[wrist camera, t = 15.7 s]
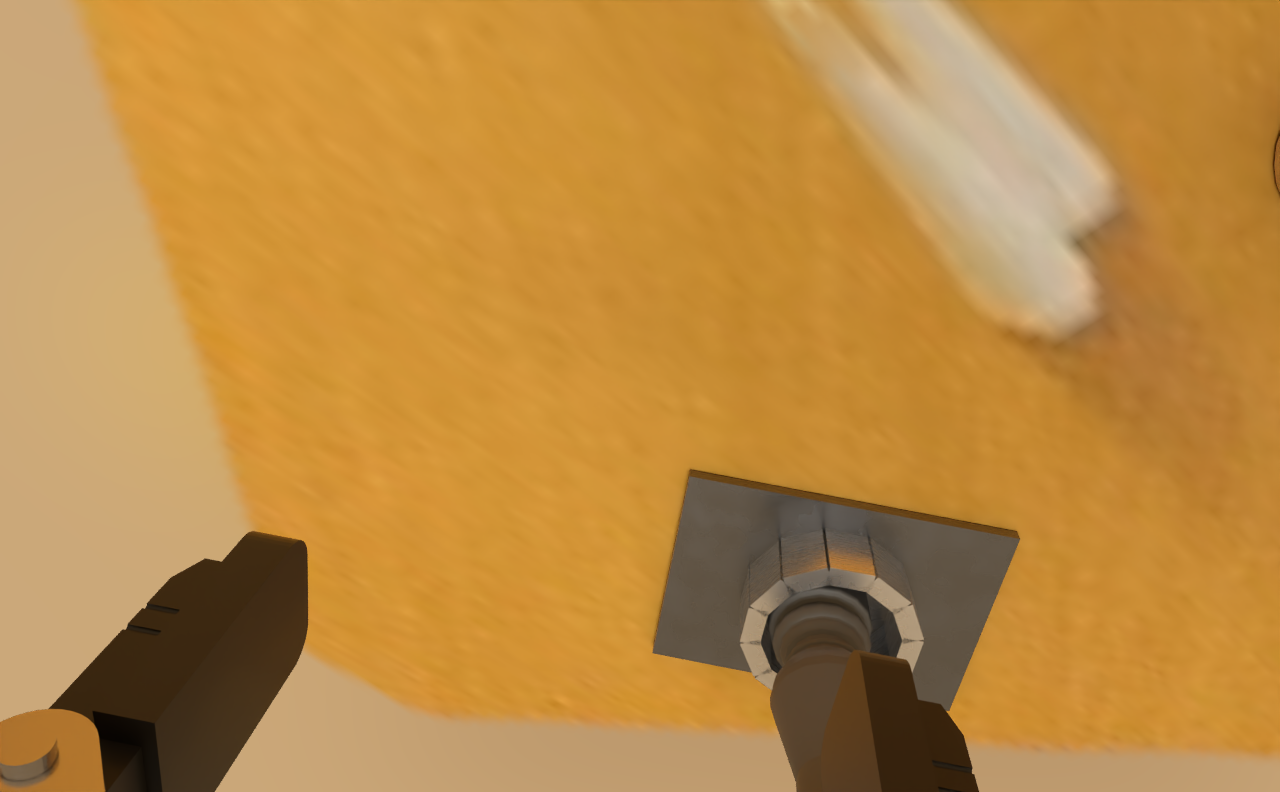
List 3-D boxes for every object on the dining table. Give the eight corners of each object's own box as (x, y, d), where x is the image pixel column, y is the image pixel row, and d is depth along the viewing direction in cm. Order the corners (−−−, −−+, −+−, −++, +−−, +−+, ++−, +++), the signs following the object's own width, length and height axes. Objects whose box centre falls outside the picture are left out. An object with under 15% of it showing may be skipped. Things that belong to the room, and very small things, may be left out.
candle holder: (817, 648, 60) (857, 1065, 37) (746, 594, 58) (745, 992, 36) (887, 593, 57) (976, 1004, 35) (815, 536, 56) (859, 923, 34)
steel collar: (1016, 531, 55) (1039, 580, 51) (946, 702, 61) (961, 758, 57) (690, 469, 56) (685, 512, 51) (653, 644, 62) (646, 696, 58)
